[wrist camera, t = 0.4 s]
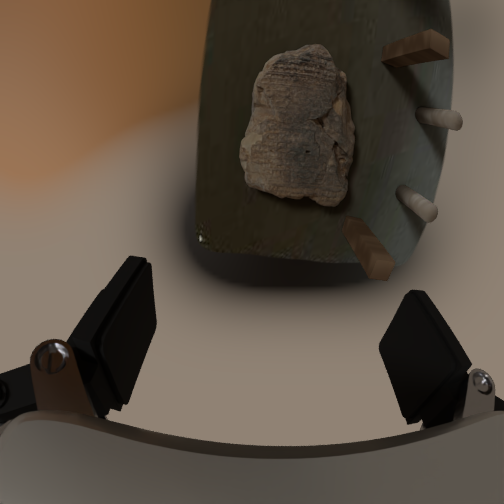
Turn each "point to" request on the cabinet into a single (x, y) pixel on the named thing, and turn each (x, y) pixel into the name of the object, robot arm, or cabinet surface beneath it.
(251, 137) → the clay tablet
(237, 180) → the cabinet surface
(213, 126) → the cabinet surface
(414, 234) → the cabinet surface
